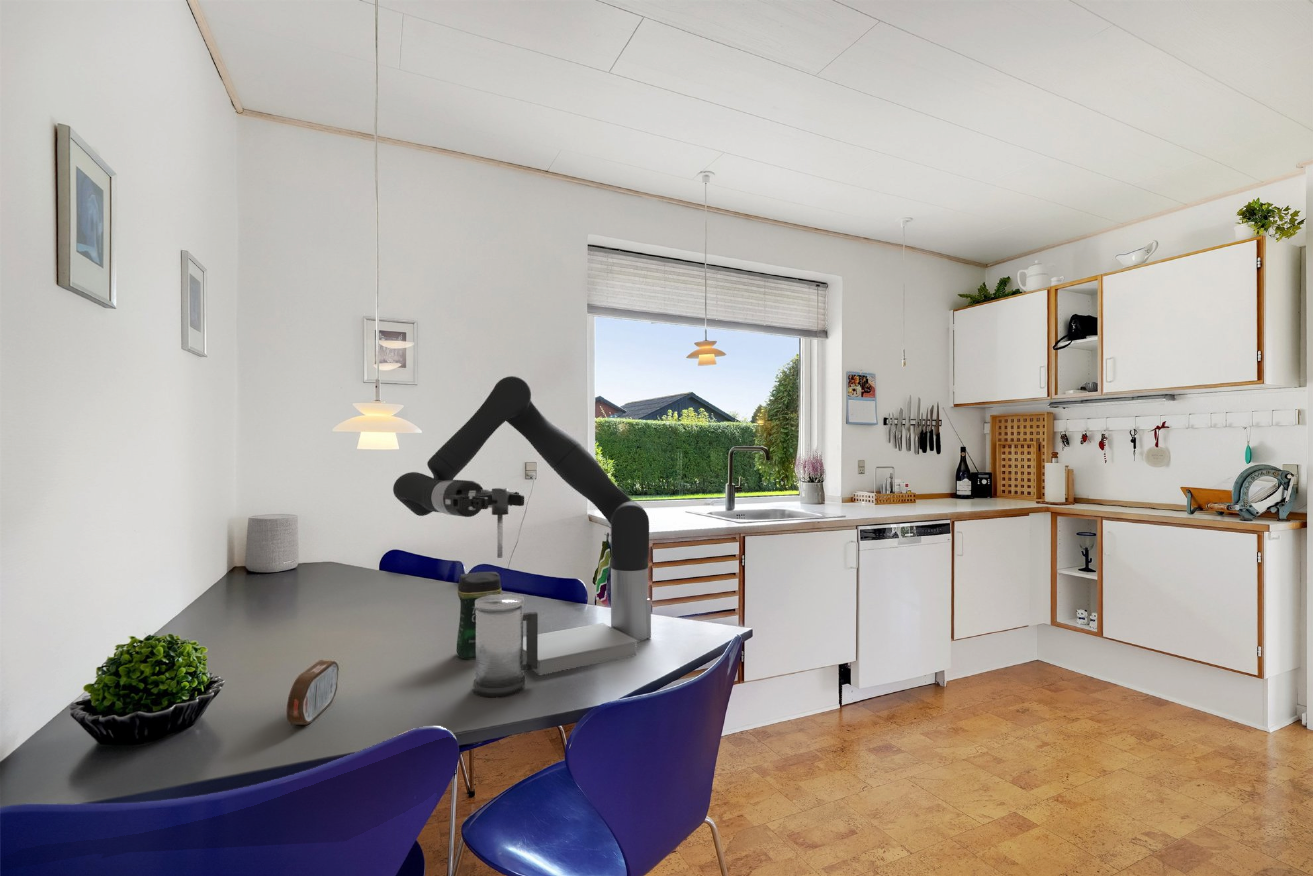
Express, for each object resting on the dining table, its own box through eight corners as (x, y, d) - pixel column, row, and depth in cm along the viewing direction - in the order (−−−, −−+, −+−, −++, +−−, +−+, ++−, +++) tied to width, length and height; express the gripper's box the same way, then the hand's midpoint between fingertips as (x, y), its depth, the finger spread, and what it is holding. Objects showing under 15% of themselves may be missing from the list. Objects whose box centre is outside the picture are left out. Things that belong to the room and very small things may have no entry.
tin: (324, 698, 119) (324, 653, 119) (341, 697, 119) (342, 652, 119) (284, 734, 104) (284, 683, 104) (304, 734, 104) (304, 682, 104)
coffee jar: (459, 663, 138) (460, 577, 138) (454, 652, 145) (454, 571, 145) (504, 656, 142) (504, 573, 142) (496, 646, 149) (496, 567, 150)
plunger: (507, 555, 126) (507, 488, 126) (509, 558, 123) (509, 489, 123) (490, 556, 125) (490, 488, 125) (492, 559, 122) (492, 489, 122)
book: (638, 640, 143) (538, 660, 130) (638, 657, 143) (538, 679, 130) (600, 621, 158) (508, 637, 145) (600, 637, 158) (507, 654, 145)
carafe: (532, 674, 131) (532, 591, 131) (541, 691, 122) (541, 602, 122) (471, 682, 127) (471, 596, 127) (475, 700, 117) (476, 608, 118)
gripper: (427, 481, 128) (474, 484, 118) (486, 478, 139) (534, 481, 129) (426, 518, 128) (474, 524, 118) (486, 512, 139) (534, 518, 129)
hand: (505, 502), depth 123 cm, fingers open, 8 cm apart
